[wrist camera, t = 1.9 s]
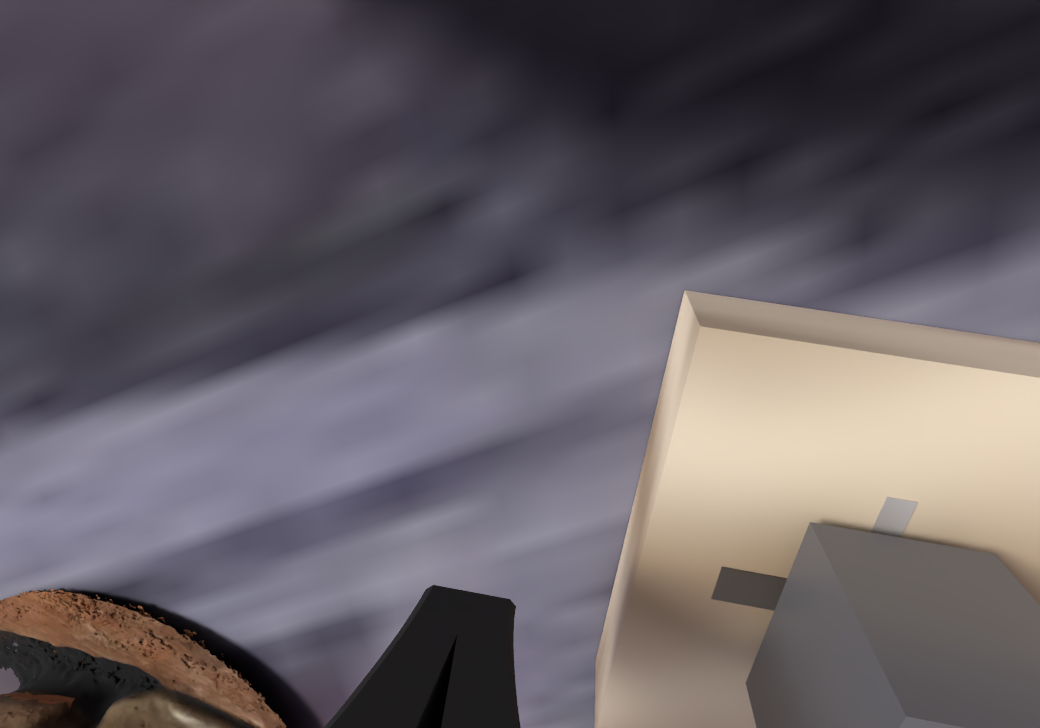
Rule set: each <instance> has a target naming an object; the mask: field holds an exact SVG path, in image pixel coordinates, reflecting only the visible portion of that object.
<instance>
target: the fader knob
mask: <svg viewBox="0 0 1040 728" xmlns="http://www.w3.org/2000/svg"><path fill="white" fill-rule="evenodd" d="M746 687H747V691H748V695H749V699H750V703H751V707H752V711H753V715H754V719H755V723H756V728H1040V605H1039V604H1038V603H1037V602H1036V601H1035V599H1034V598H1033V597H1032V596H1031V595H1030V594H1029V593H1028V591H1027V590H1026V589H1025V588H1024V587H1023V586H1022V585H1021V583H1020V582H1019V581H1018V580H1017V579H1016V578H1015V577H1014V575H1013V574H1012V573H1011V572H1010V571H1009V570H1008V569H1007V567H1006V566H1005V565H1004V564H1003V563H1002V562H1001V560H1000V559H999V558H998V557H997V556H996V555H995V554H992V553H986V552H981V551H975V550H969V549H963V548H958V547H952V546H946V545H940V544H935V543H929V542H923V541H917V540H911V539H906V538H900V537H894V536H888V535H883V534H877V533H871V532H865V531H860V530H854V529H848V528H842V527H837V526H831V525H825V524H819V523H813V522H810V523H809V525H808V528H807V530H806V533H805V535H804V538H803V540H802V543H801V545H800V548H799V550H798V553H797V555H796V558H795V560H794V563H793V565H792V568H791V570H790V573H789V575H788V578H787V581H786V583H785V586H784V588H783V591H782V593H781V596H780V598H779V601H778V603H777V606H776V608H775V611H774V613H773V616H772V618H771V621H770V623H769V626H768V628H767V631H766V633H765V636H764V638H763V641H762V643H761V646H760V648H759V651H758V653H757V656H756V658H755V661H754V663H753V666H752V668H751V671H750V673H749V676H748V678H747V681H746Z"/></svg>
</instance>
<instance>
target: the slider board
mask: <svg viewBox="0 0 1040 728" xmlns="http://www.w3.org/2000/svg"><path fill="white" fill-rule="evenodd" d="M810 522H813V523H819V524H825V525H831V526H837V527H842V528H848V529H854V530H860V531H865V532H871V533H877V534H883V535H888V536H894V537H900V538H906V539H911V540H917V541H923V542H929V543H935V544H940V545H946V546H952V547H958V548H963V549H969V550H975V551H981V552H986V553H992V554H995V555H996V556H997V557H998V558H999V559H1000V560H1001V562H1002V563H1003V564H1004V565H1005V566H1006V567H1007V569H1008V570H1009V571H1010V572H1011V573H1012V574H1013V575H1014V577H1015V578H1016V579H1017V580H1018V581H1019V582H1020V583H1021V585H1022V586H1023V587H1024V588H1025V589H1026V590H1027V591H1028V593H1029V594H1030V595H1031V596H1032V597H1033V598H1034V599H1035V601H1036V602H1037V603H1038V604H1039V605H1040V343H1038V342H1031V341H1024V340H1017V339H1011V338H1004V337H997V336H990V335H984V334H977V333H970V332H963V331H956V330H950V329H943V328H936V327H929V326H923V325H916V324H909V323H902V322H896V321H889V320H882V319H875V318H869V317H862V316H855V315H848V314H841V313H835V312H828V311H821V310H814V309H808V308H801V307H794V306H787V305H781V304H774V303H767V302H760V301H754V300H747V299H740V298H733V297H727V296H720V295H713V294H706V293H699V292H693V291H686V290H685V291H684V295H683V299H682V303H681V307H680V312H679V316H678V320H677V324H676V328H675V332H674V337H673V341H672V345H671V349H670V353H669V357H668V361H667V366H666V370H665V374H664V378H663V382H662V386H661V391H660V395H659V399H658V403H657V407H656V411H655V416H654V420H653V424H652V428H651V432H650V436H649V441H648V445H647V449H646V453H645V457H644V461H643V466H642V470H641V474H640V478H639V482H638V486H637V491H636V495H635V499H634V503H633V507H632V511H631V516H630V520H629V524H628V528H627V532H626V536H625V541H624V545H623V549H622V553H621V557H620V561H619V565H618V570H617V574H616V578H615V582H614V586H613V590H612V595H611V599H610V603H609V607H608V611H607V615H606V620H605V624H604V628H603V632H602V636H601V640H600V645H599V649H598V653H597V657H596V673H595V728H756V723H755V719H754V715H753V711H752V707H751V703H750V699H749V695H748V691H747V687H746V681H747V678H748V676H749V673H750V671H751V668H752V666H753V663H754V661H755V658H756V656H757V653H758V651H759V648H760V646H761V643H762V641H763V638H764V636H765V633H766V631H767V628H768V626H769V623H770V621H771V618H772V616H773V613H774V611H775V608H776V606H777V603H778V601H779V598H780V596H781V593H782V591H783V588H784V586H785V583H786V581H787V578H788V575H789V573H790V570H791V568H792V565H793V563H794V560H795V558H796V555H797V553H798V550H799V548H800V545H801V543H802V540H803V538H804V535H805V533H806V530H807V528H808V525H809V523H810Z"/></svg>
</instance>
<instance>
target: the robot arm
mask: <svg viewBox="0 0 1040 728" xmlns="http://www.w3.org/2000/svg"><path fill="white" fill-rule="evenodd" d="M515 609H516V606H515V605H514V604H513V602H512V601H511V600H510V599H506V598H500V597H495V596H489V595H484V594H479V593H473V592H468V591H463V590H457V589H452V588H447V587H441V586H436V585H433V586H431V587H429V588H427V589H426V590H425V592H424V594H423V595H422V597H421V599H420V600H419V602H418V604H417V605H416V607H415V609H414V610H413V612H412V613H411V615H410V616H409V618H408V619H407V621H406V622H405V624H404V625H403V627H402V628H401V630H400V631H399V632H398V634H397V635H396V637H395V638H394V640H393V641H392V642H391V644H390V645H389V646H388V648H387V649H386V651H385V652H384V653H383V655H382V656H381V657H380V659H379V660H378V661H377V663H376V664H375V665H374V667H373V668H372V669H371V670H370V672H369V673H368V674H367V676H366V677H365V678H364V679H363V681H362V682H361V683H360V684H359V686H358V687H357V688H356V690H355V691H354V692H353V693H352V695H351V696H350V697H349V698H348V700H347V701H346V702H345V704H344V705H343V706H342V707H341V708H340V710H339V711H338V712H337V713H336V714H335V716H334V717H333V718H332V719H331V720H330V721H329V723H328V724H327V725H326V726H325V727H324V728H520V721H519V714H518V706H517V696H516V686H515V671H514V651H513V631H514V615H515Z"/></svg>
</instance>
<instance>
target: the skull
mask: <svg viewBox="0 0 1040 728" xmlns="http://www.w3.org/2000/svg"><path fill="white" fill-rule="evenodd" d="M48 591H52V592H51V593H50V592H47V591H45V592H40V591H38V590H36V592H33V591H31V593H30V592H23V594H21V593H20V595H18V596H14V597H10V598H7V599H3V600H2V601H0V668H1V669H2V666H3V667H4V668H5V670H7V668H10V667H11V668H12V669H13V671H14V674H15V675H16V677H18V678H19V681H20V684H21V685H20V687H19V689H18V690H16V691H14V692H12V693H9V694H2V695H0V728H286V725H285V724H284V723H283V722H282V719H281V718H279V715H278V714H276V713H274V712H273V711H272V710H271V709H270V708H269V706H268V705H266V704H265V702H264V700H265V698H264V697H262V696H261V693H260V692H259V693H258V694H257V692H256V691H254V690H253V689H252V688H251V687H249V685H251V683H249V682H248V680H246V679H245V680H243V679H242V678H239V677H238V675H237V671H236V670H235V669H230V668H231V666H229V667H230V668H227V666H226V665H225V664H224V661H223V660H218V659H217V658H216V656H214V655H211V654H210V652H209V650H207V649H203V648H205V645H204V640H203V641H199V644H200V646H199V645H198V644H197V642H196V641H192V640H191V639H190V638H189V637H188V636H190V637H192V636H193V634H194V635H197V633H196V632H193V634H192V633H191V631H189V630H184V631H185V632H186V634H187V635H184V634H182V635H180V634H178V633H177V632H176V630H175V629H174V628H173V627H171V626H168V625H165V624H163V623H160V622H159V621H157V620H156V619H154V618H153V617H151V616H150V614H147V613H145V612H144V610H143V607H142V606H138V608H139V609H140V612H136V611H132V610H129V609H127V608H126V607H125V605H124V606H123V607H122V606H119V605H115V604H112V603H113V601H112V599H110V601H111V602H112V603H109V602H108V601H107V602H103V601H99V600H100V597H97V599H99V600H96V599H91V597H88V596H85V595H82V594H75V593H71V592H64V591H61V590H58V591H55V590H53V589H50V590H48ZM39 592H40V593H39ZM56 592H62V593H58V594H56ZM96 596H98V595H97V594H96ZM105 599H106V598H105ZM100 603H101V604H100ZM129 605H130V607H132V605H131V604H129ZM46 608H47V609H46ZM132 608H133V609H135V608H136V607H132ZM98 615H99V616H98ZM143 615H144V616H143ZM159 618H160V619H161V620H163V622H164V623H166V622H165V620H164V618H163V617H159ZM159 618H158V619H159ZM5 638H6V639H5ZM14 640H15V642H16V643H17V644H18V646H17V647H16V646H13V642H14ZM12 646H13V647H12ZM6 647H8V648H9V649H8V648H6ZM14 650H15V651H16V650H17V651H16V652H15V651H14ZM29 654H30V655H29ZM221 655H223V654H221ZM222 657H224V656H222ZM238 674H239V676H240V677H241V675H240V674H241V673H238ZM248 683H249V685H248Z"/></svg>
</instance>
